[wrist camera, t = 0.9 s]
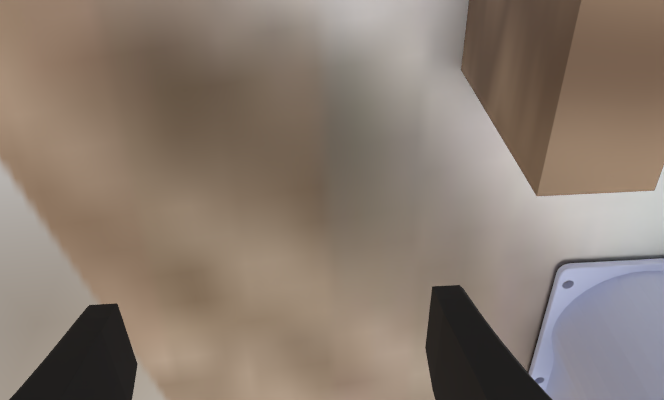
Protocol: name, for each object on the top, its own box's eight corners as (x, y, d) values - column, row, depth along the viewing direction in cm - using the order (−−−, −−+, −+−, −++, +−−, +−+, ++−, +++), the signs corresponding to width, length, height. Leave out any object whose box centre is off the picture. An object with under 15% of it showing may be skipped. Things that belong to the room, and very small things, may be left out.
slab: (542, 66, 21) (654, 190, 15) (461, 69, 21) (536, 196, 14) (588, -159, 17) (771, -127, 11) (487, -157, 17) (608, -122, 10)
